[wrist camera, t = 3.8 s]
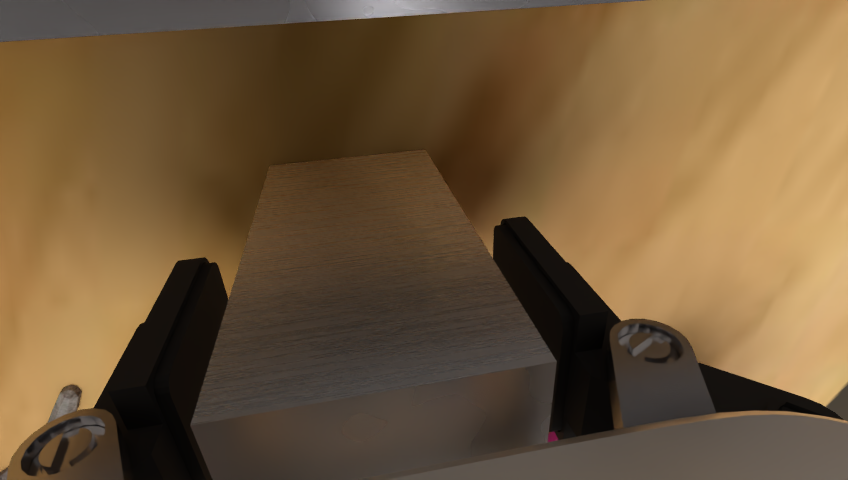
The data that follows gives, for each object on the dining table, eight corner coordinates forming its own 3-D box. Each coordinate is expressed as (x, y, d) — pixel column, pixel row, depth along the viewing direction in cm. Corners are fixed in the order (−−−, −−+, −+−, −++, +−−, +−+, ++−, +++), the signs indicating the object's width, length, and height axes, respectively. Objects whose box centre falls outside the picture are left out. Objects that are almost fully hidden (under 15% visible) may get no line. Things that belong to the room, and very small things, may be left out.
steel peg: (269, 165, 13) (190, 425, 5) (425, 149, 14) (556, 361, 6) (297, 295, 15) (269, 617, 7) (431, 276, 16) (534, 556, 8)
